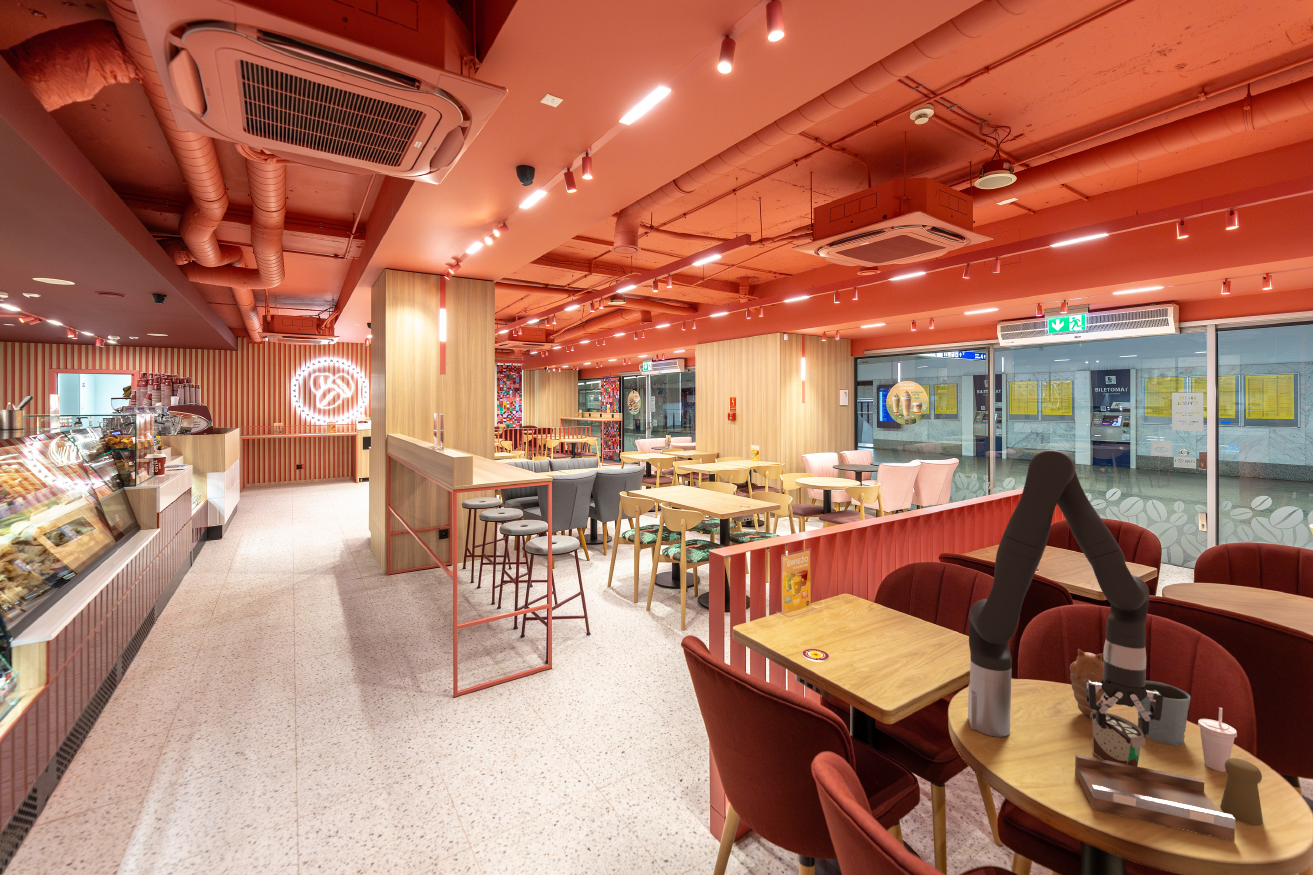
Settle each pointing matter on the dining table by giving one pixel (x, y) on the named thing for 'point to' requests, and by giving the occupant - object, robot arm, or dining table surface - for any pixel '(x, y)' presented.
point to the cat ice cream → (1086, 678)
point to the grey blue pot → (1168, 714)
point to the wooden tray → (1152, 797)
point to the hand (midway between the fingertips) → (1121, 730)
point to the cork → (1242, 792)
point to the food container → (1117, 740)
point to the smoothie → (1216, 742)
